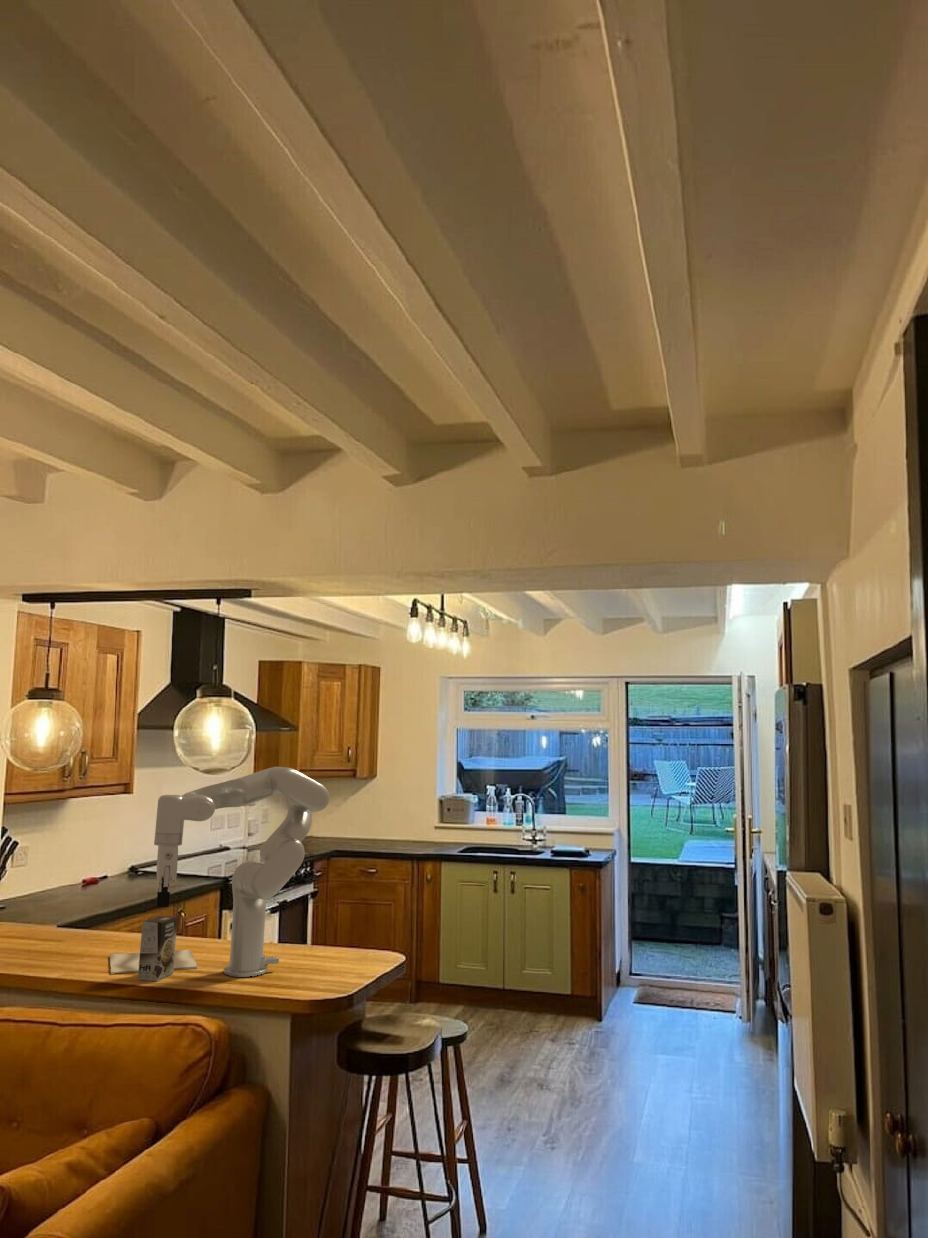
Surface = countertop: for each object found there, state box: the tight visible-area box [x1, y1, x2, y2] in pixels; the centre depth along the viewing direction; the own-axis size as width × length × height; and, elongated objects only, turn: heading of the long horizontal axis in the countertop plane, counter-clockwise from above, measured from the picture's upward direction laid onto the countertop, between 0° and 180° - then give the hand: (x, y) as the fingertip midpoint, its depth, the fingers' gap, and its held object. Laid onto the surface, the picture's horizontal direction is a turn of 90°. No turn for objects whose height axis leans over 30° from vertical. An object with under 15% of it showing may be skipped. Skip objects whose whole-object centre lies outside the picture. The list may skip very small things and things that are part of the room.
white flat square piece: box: [109, 949, 198, 974], centre depth 265 cm, size 24×22×1 cm
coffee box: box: [137, 915, 178, 982], centre depth 251 cm, size 9×6×16 cm
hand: (162, 906), depth 243 cm, fingers closed
